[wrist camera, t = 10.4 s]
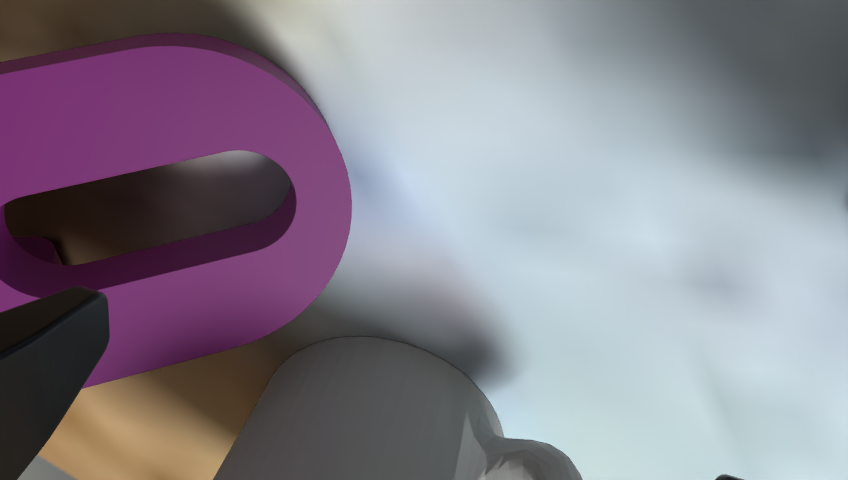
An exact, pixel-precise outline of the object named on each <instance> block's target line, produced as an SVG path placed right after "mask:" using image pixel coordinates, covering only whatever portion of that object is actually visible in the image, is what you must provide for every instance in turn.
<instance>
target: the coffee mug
mask: <svg viewBox="0 0 848 480" xmlns="http://www.w3.org/2000/svg"><path fill="white" fill-rule="evenodd" d="M213 480H582V477H581V475H580V473H579V472H578V470H577V469H576V467H575V466H574V464H573V463H572V461H571V460H570V458H569V457H568V456H567V455H565V454H564V453H563V452H562V451H560V450H558V449H557V448H555V447H553V446H552V445H550V444H547V443H543V442H538V441H534V440H524V439H509V438H504V435H503V431H502V427H501V424H500V421H499V419H498V416H497V414H496V412H495V411H494V409H493V407H492V405H491V404H490V402H489V401H488V399H487V398H486V396H485V395H484V394H483V393H482V392H481V391H480V390H479V389H478V387H477V386H476V385H475V384H474V383H473V382H472V381H471V380H470V379H469V378H468V377H467V376H466V375H464V374H463V373H462V372H461V371H459V370H458V369H457V368H455V367H454V366H452V365H451V364H449V363H448V362H446V361H444V360H442V359H441V358H439V357H437V356H435V355H433V354H431V353H429V352H427V351H424V350H422V349H419V348H416V347H414V346H411V345H408V344H406V343H402V342H398V341H393V340H388V339H382V338H377V337H365V336H362V337H339V338H334V339H329V340H325V341H321V342H318V343H315V344H313V345H310V346H308V347H305V348H303V349H301V350H299V351H298V352H296V353H295V354H294V355H292V356H291V357H289V358H288V359H287V360H286V361H285V362H283V363H282V364H281V365H280V366H279V367H278V369H277V370H276V371H275V373H274V374H273V376H272V378H271V379H270V381H269V383H268V385H267V386H266V388H265V390H264V391H263V393H262V395H261V397H260V398H259V400H258V402H257V404H256V405H255V407H254V409H253V411H252V412H251V414H250V416H249V418H248V419H247V421H246V423H245V425H244V426H243V428H242V430H241V432H240V433H239V435H238V437H237V439H236V440H235V442H234V444H233V446H232V447H231V449H230V451H229V453H228V454H227V456H226V458H225V459H224V461H223V463H222V465H221V466H220V468H219V470H218V472H217V473H216V475H215V477H214V479H213Z"/></svg>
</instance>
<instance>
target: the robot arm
mask: <svg viewBox="0 0 848 480" xmlns="http://www.w3.org/2000/svg"><path fill="white" fill-rule="evenodd" d="M109 338H110V328H109V309H108V299H107V297H106V295H105V294H104V293H102V292H100V291H97V290H93V289H90V288H87V287H83V286H75V287H71V288H68V289H65V290H62V291H60V292H57V293H54V294H51V295H48V296H45V297H42V298H40V299H37V300H34V301H31V302H28V303H25V304H23V305H20V306H17V307H14V308H11V309H8V310H5V311H3V312H0V480H17V479H18V478H19V476H20V475H21V474H22V473H23V471H24V470H25V469H26V468H27V466H28V465H29V464H30V462H31V461H32V460H33V459H34V457H35V456H36V455H37V454H38V453H39V451H40V450H41V449H42V447H43V446H44V445H45V443H46V442H47V441H48V439H49V438H50V437H51V435H52V434H53V432H54V431H55V429H56V428H57V426H58V425H59V423H60V422H61V420H62V418H63V417H64V415H65V414H66V412H67V411H68V409H69V407H70V406H71V404H72V403H73V401H74V400H75V398H76V396H77V395H78V393H79V392H80V390H81V389H82V387H83V385H84V384H85V382H86V381H87V379H88V378H89V376H90V374H91V373H92V371H93V370H94V368H95V367H96V365H97V363H98V362H99V360H100V359H101V357H102V355H103V354H104V352H105V350H106V348H107V346H108V343H109ZM715 480H743V479H740V478H737V477H733V476H730V475H720V476H718V477H717V478H716V479H715Z"/></svg>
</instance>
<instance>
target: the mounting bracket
mask: <svg viewBox="0 0 848 480" xmlns="http://www.w3.org/2000/svg"><path fill="white" fill-rule="evenodd" d="M232 150H245V151H252V152H256V153H259V154H262V155H264V156H266V157H268V158H270V159H272V160H273V161H275V162H276V163H277V164H279V165H280V166H281V167H282V168H283V169H284V170H285V172H286V173H287V174H288V176H289V177H290V179H291V183H290V189H289V192H288V195H287V197H286V199H285V200H284V202H283V204H282V205H281V206H280V207H279V208H278V209H277V210H276V211H275V212H274V213H273V214H272V215H270V216H269V217H267V218H265V219H263V220H261V221H258V222H255V223H252V224H247V225H243V226H239V227H235V228H231V229H227V230H222V231H218V232H214V233H210V234H206V235H202V236H197V237H193V238H189V239H185V240H181V241H177V242H172V243H168V244H164V245H160V246H156V247H152V248H147V249H143V250H139V251H135V252H131V253H127V254H122V255H118V256H114V257H110V258H106V259H102V260H97V261H93V262H89V263H85V264H80V265H62V263H61V261H60V258H59V256H58V254H57V252H56V250H55V247H54V246H53V244H52V243H51V242H50V241H49V240H47V239H45V238H43V237H40V236H22V237H12V236H11V235H10V233H9V231H8V229H7V226H6V223H5V218H4V206H5V203H7V202H9V201H11V200H14V199H16V198H19V197H23V196H27V195H32V194H36V193H41V192H45V191H50V190H54V189H59V188H63V187H68V186H72V185H77V184H81V183H86V182H90V181H95V180H99V179H104V178H108V177H113V176H117V175H122V174H126V173H131V172H135V171H140V170H144V169H149V168H153V167H158V166H162V165H167V164H171V163H176V162H180V161H185V160H189V159H194V158H198V157H203V156H207V155H212V154H216V153H221V152H226V151H232ZM351 211H352V200H351V189H350V183H349V178H348V173H347V169H346V166H345V163H344V160H343V157H342V154H341V152H340V150H339V148H338V146H337V144H336V142H335V139H334V137H333V135H332V133H331V131H330V129H329V127H328V124H327V122H326V120H325V119H324V117H323V115H322V114H321V112H320V110H319V109H318V107H317V106H316V104H315V103H314V102H313V100H312V99H311V98H310V96H309V95H308V94H307V93H306V91H305V90H304V89H303V88H302V87H301V86H300V85H299V84H298V83H297V82H296V81H295V80H294V79H293V78H292V77H290V76H289V75H288V74H287V73H286V72H284V71H283V70H282V69H281V68H279V67H278V66H276V65H275V64H273V63H272V62H270V61H269V60H267V59H266V58H264V57H262V56H260V55H258V54H256V53H255V52H253V51H251V50H249V49H246V48H244V47H241V46H239V45H236V44H234V43H231V42H228V41H224V40H221V39H217V38H213V37H208V36H203V35H197V34H186V33H156V34H149V35H141V36H135V37H130V38H125V39H119V40H114V41H109V42H104V43H99V44H93V45H88V46H83V47H78V48H72V49H67V50H62V51H57V52H51V53H46V54H41V55H36V56H30V57H25V58H20V59H15V60H10V61H4V62H0V312H3V311H5V310H8V309H11V308H14V307H17V306H20V305H23V304H25V303H28V302H31V301H34V300H37V299H40V298H42V297H45V296H48V295H51V294H54V293H57V292H60V291H62V290H65V289H68V288H71V287H75V286H83V287H87V288H90V289H93V290H97V291H100V292H102V293H104V294H105V295H106V297H107V299H108V309H109V328H110V338H109V343H108V346H107V348H106V350H105V352H104V354H103V355H102V357H101V359H100V360H99V362H98V363H97V365H96V367H95V368H94V370H93V371H92V373H91V374H90V376H89V378H88V379H87V381H86V382H85V384H84V385H83V387H82V389H83V388H86V387H90V386H94V385H98V384H101V383H105V382H109V381H112V380H116V379H120V378H124V377H127V376H131V375H135V374H139V373H142V372H146V371H150V370H153V369H157V368H161V367H165V366H168V365H172V364H176V363H180V362H183V361H187V360H191V359H195V358H198V357H202V356H206V355H209V354H213V353H217V352H221V351H224V350H228V349H232V348H235V347H238V346H241V345H245V344H248V343H250V342H253V341H255V340H258V339H260V338H262V337H265V336H266V335H268V334H270V333H272V332H274V331H276V330H278V329H279V328H281V327H282V326H284V325H285V324H287V323H288V322H290V321H291V320H293V319H294V318H295V317H296V316H298V315H299V314H300V313H301V312H303V311H304V310H305V309H306V308H307V307H308V306H309V305H310V304H311V303H312V302H313V301H314V300H315V299H316V298H317V296H318V295H319V294H320V293H321V292H322V290H323V289H324V288H325V286H326V285H327V283H328V282H329V280H330V279H331V277H332V276H333V274H334V272H335V270H336V268H337V266H338V264H339V263H340V260H341V258H342V255H343V252H344V250H345V247H346V243H347V239H348V235H349V231H350V224H351Z"/></svg>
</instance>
